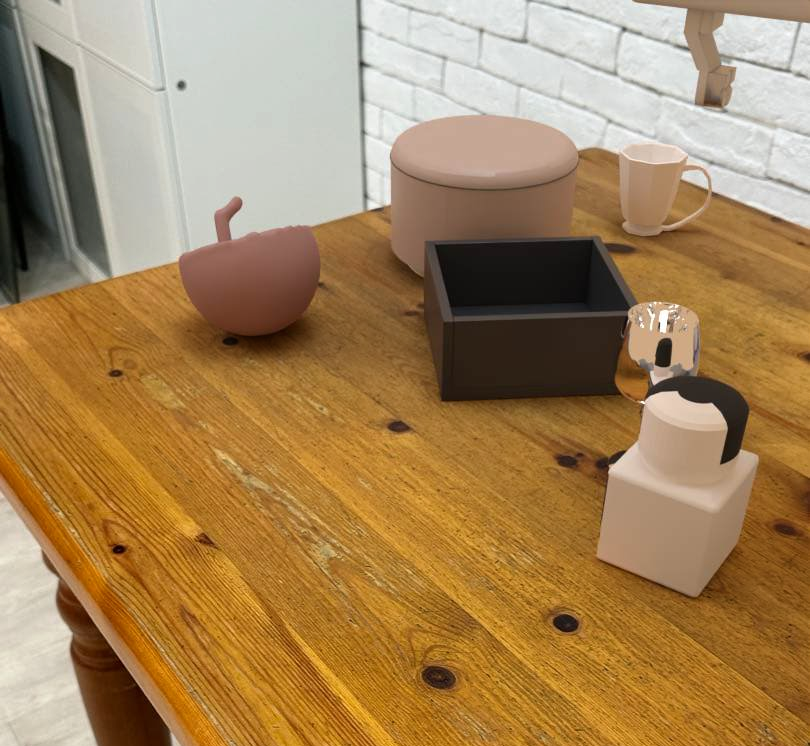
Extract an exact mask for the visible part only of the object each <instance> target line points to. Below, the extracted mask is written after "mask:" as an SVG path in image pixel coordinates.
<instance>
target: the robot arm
mask: <svg viewBox="0 0 810 746" xmlns="http://www.w3.org/2000/svg"><path fill="white" fill-rule="evenodd" d="M631 1H632V2H634V3H635V4H644V5H654V6H660V7H668V8H669V7H670V8H678V9H685V10H686V15H685V21H684V22H685V23H684V27H683V35H684V38H685V41H686V43H687V46H688V49H689V51H690V54H691V57H692V60H693V63H694V65H695V68H696V71H698V76H697V82H696V88H695V95H694V105H695V106H699V107H703V108H712V109H713V108H714V109H719V110H723V109H725V107H726V106H728V105H729V103H730V101H731V99H732V94H733V87H732V84H733V83H734V81H735V78H736V74H737V69H738V68H737V66H731V65H725V64H723V63H722V60H721V56H720V53H719V50H718V46H717V43H716V40H715V37H714V32H715V31H717V30H718V29H719V28H721V27H722V26H723V25H724V20H725V15H726V14H727V15H728V14H729V15H730V14H731V15H736V16H743V17H744V16H746V17H754V18H760V19H761V18H762V19H770V20H778V21H787V22H795V23H802V24H803V23H804V24H810V0H631Z"/></svg>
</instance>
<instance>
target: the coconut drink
mask: <svg viewBox="0 0 810 746" xmlns="http://www.w3.org/2000/svg"><path fill="white" fill-rule="evenodd" d="M243 203H244V202H243V199H242V197H240V196H236V195H235V196H234V197H232V198H231V199H230V201H229V202H228V203H227V204H226V205H224V207H222V208H220V209H217V210H216V211H215V212H214V215H213V220H214V226H215V232H216V238H217V242H215V243H211V244H207V245H205V246H201V247H198V248H195V249H193V250H191V251H186V252H184V253H182V254H181V255H180V256H179V258H178V263H177V264H178V270H179V275H180V279H181V282H182V286H183V288H184V292H185V293H186V296H187V297H188V299H189V300H190V303H191V304H192V305H193V307H194V308H195V310H197V312H198V313H199V314H201V316H202V317H203V318H204V319H205V320H207V321H208V322H209V323H211V324H212V325H214V326H216V327H217V328H219V329H221V330H223V331H225V332H228V333H232V334H234V335H239V336H246V337H247V336H248V337H258V336H259V337H261V336H265V335H270V334H274V333H277V332H279V331H281V330H284V329H285V328H287V327H289V326H290V325H292V324H293V323H294V322H296V321H297V320H298V319H299V318H300V317H302V315H303V314H304V313H305V312H306V310H307V309H308V308H309V306H310V305H311V303H312V302H313V299H314V297H315V295H316V293H317V289H318V287H319V282H320V277H321V254H320V249H319V246H318V242H317V240H316V237H315V235H314V233H313V230H312V229H311V226H310V225H306V224H303V225H301V224H298V225H295V226H293V225H287V226H285V227H277V228H272V229H271V228H270V229H269V230H264V231H261V232H257V231H251V232H249V233H247V234H246V235H244V236H240V237H239V238H232V233H231V227H230V221H231V220H232V218H234V216H235V215H236V214H237V213H238V212H240V210H241V209H242V207H243Z"/></svg>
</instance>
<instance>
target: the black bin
mask: <svg viewBox="0 0 810 746" xmlns="http://www.w3.org/2000/svg"><path fill="white" fill-rule="evenodd" d="M615 262H616V261H614V259H613V257H612V255H611V254H610V252H609V250H608V249H607V246H606V244H605V243H604V241H603V240H602V238H601V236H600V235H583V236H570V237H545V238H509V239H474V240H439V241H425V249H424V277H423V318H424V322H425V328H426V332H427V338H428V342H429V347H430V352H431V357H432V361H433V366H434V367H433V368H434V373H435V376H436V381H437V386H438V391H439V396H440V400H441V401H442V402H446V401H447V402H449V401H471V400H473V401H475V400H476V401H477V400H498V399H499V400H501V399H523V398H524V399H526V398H549V397H550V398H551V397H578V396H579V397H581V396H605V395H623V394H622V393H621V392H620V391H619V389H618V388H617V386H616V384H615V382H614V378H613V372H612V360H613V354H614V349H615V345H616V342H617V338H618V336H619V333H620V330H621V327H622V325H623V322H624V320H625V318H626V316H627V314H628V312H629V310H630V309H631V308H632V307H633V306H635V305H638V304H639V303H638V301H637V299H636V297H635V296H634V294H633V292H632V290H631V288H630V287H629V285H628V283H627V281H626V279H625V278H624V276H623V274H622V273H621V271H620V270H619V269H620V268H618V266H617V264H616V263H615Z"/></svg>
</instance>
